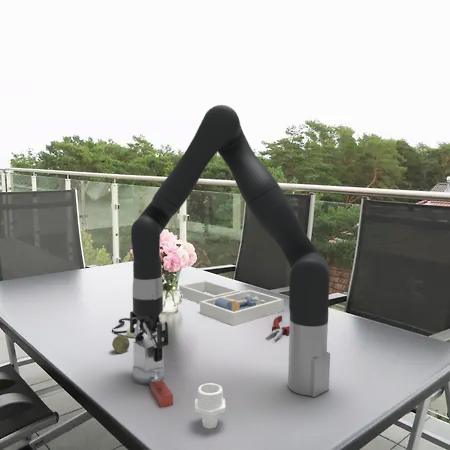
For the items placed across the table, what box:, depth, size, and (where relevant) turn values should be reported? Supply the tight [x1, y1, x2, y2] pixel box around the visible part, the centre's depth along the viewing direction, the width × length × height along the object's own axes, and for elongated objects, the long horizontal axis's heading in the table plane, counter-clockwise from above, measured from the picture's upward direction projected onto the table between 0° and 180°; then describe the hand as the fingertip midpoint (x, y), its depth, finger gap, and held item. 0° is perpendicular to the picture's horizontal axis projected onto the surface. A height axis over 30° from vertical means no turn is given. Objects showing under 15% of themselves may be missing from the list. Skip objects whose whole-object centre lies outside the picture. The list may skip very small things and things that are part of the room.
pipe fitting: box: [194, 382, 226, 430], centre depth 96 cm, size 6×7×8 cm
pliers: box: [265, 315, 290, 341], centre depth 152 cm, size 12×21×3 cm, turn 150°
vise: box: [215, 294, 265, 312], centre depth 171 cm, size 18×10×7 cm, turn 128°
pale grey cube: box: [133, 337, 165, 373], centre depth 117 cm, size 6×6×6 cm
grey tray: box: [178, 280, 241, 304], centre depth 190 cm, size 22×14×4 cm, turn 42°
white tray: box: [199, 289, 285, 327], centre depth 173 cm, size 18×26×4 cm
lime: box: [111, 334, 130, 354], centre depth 134 cm, size 4×5×5 cm
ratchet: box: [132, 365, 174, 408], centre depth 112 cm, size 20×8×6 cm, turn 25°
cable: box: [111, 316, 163, 339], centre depth 154 cm, size 16×16×4 cm
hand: (148, 355), depth 117 cm, fingers open, 8 cm apart
